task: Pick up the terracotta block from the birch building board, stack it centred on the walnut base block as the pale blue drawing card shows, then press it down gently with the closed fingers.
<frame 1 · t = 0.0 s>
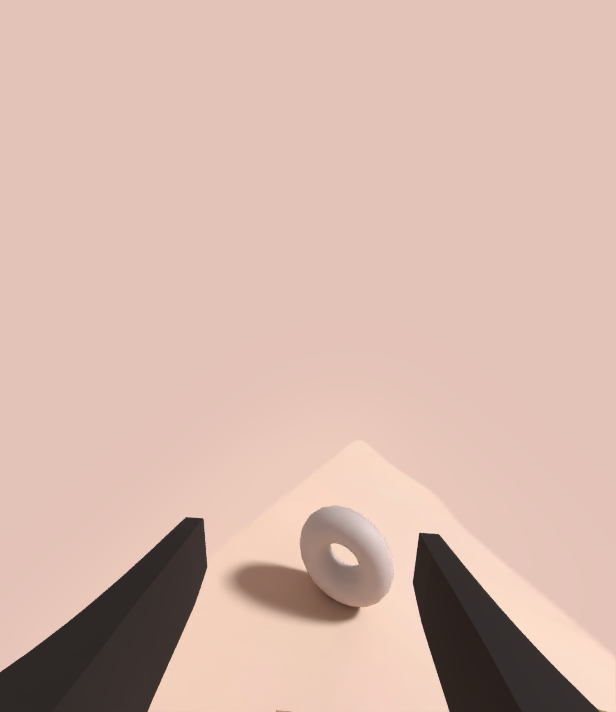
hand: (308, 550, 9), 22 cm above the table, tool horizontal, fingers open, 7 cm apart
donut: (342, 598, 30), on the table
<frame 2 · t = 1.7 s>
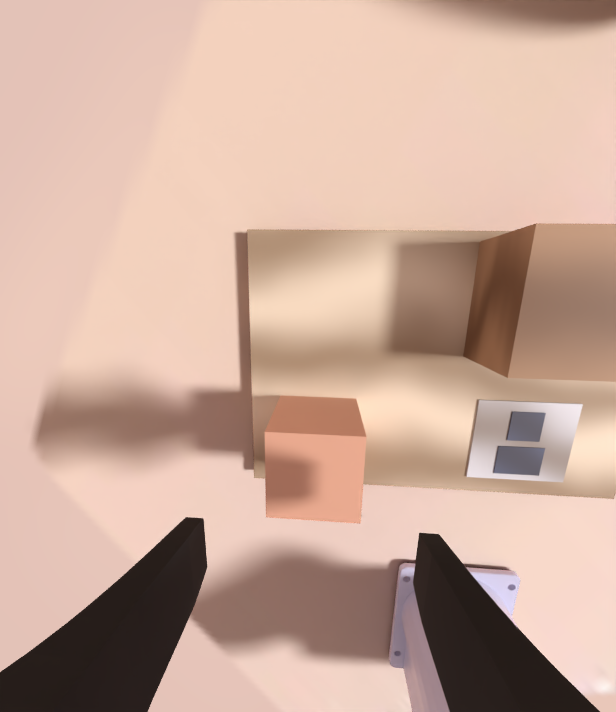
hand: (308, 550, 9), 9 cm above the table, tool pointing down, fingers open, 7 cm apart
base block: (529, 302, 15), point 1 cm above the table, touching build board
build board: (437, 369, 17), on the table
top block: (317, 431, 17), point 1 cm above the table, touching build board
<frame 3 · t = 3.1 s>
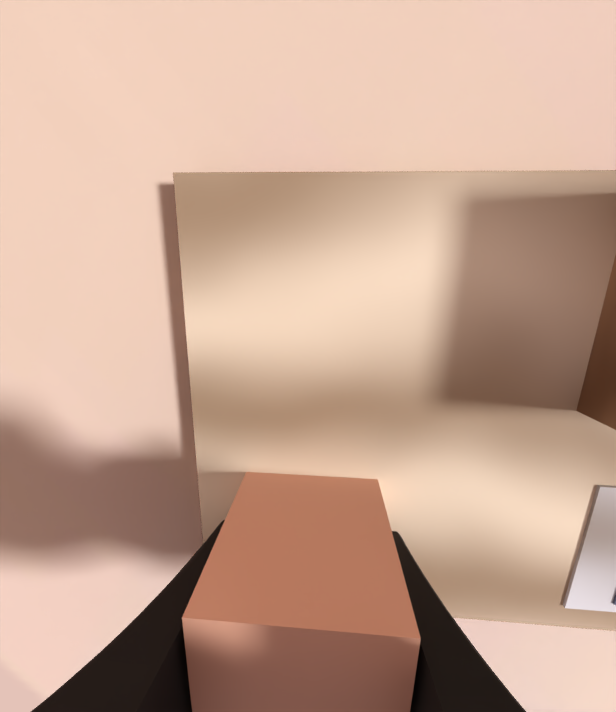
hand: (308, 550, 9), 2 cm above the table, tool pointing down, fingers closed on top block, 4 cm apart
build board: (518, 427, 10), on the table
top block: (309, 530, 10), point 1 cm above the table, touching build board, gripper
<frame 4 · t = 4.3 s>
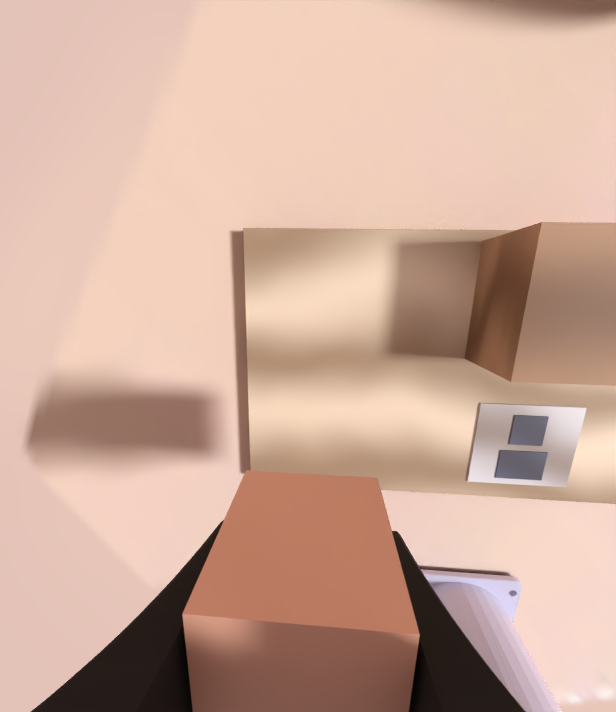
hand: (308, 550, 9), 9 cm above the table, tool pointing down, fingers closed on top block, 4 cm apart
base block: (533, 303, 15), point 1 cm above the table, touching build board
build board: (437, 371, 16), on the table
top block: (309, 528, 10), point 8 cm above the table, touching gripper
when the fingers open (7 cm above the table, at t = 6.0 s): top block stays where it is, resting on base block.
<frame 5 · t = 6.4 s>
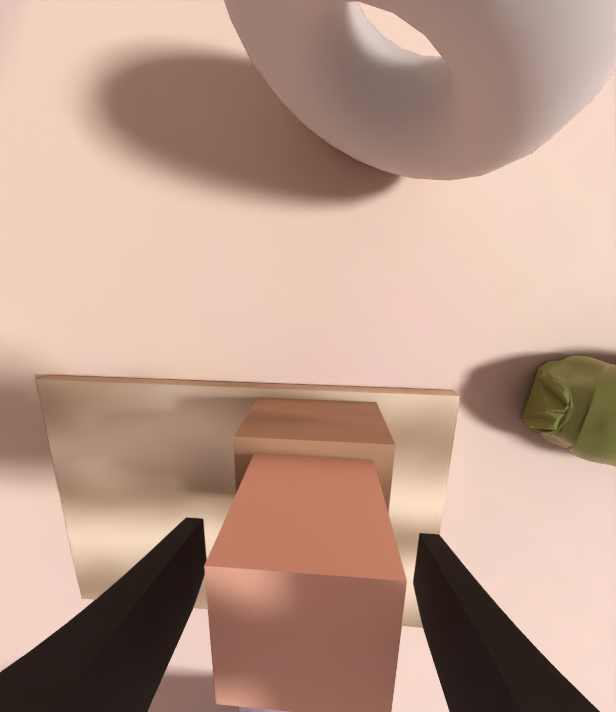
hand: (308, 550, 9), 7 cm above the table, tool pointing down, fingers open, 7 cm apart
base block: (315, 452, 15), point 1 cm above the table, touching build board, top block
build board: (247, 501, 17), on the table
top block: (311, 507, 11), point 5 cm above the table, touching base block
pear: (603, 400, 15), on the table
donut: (369, 137, 13), on the table
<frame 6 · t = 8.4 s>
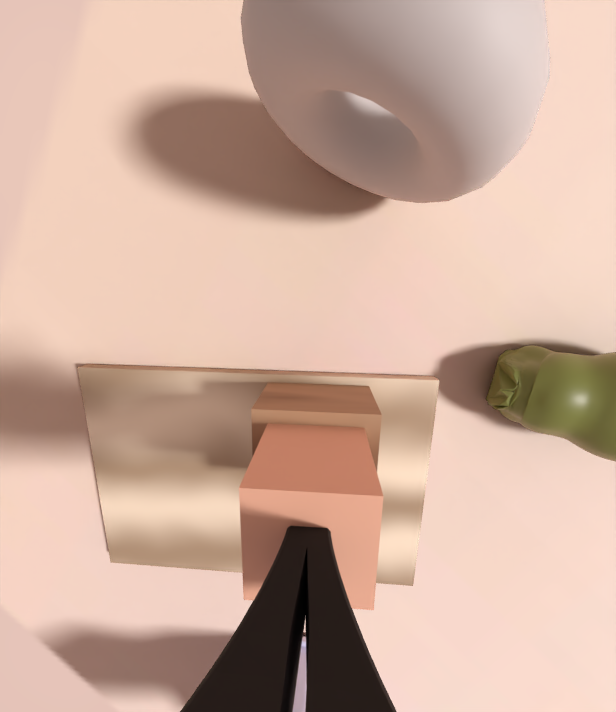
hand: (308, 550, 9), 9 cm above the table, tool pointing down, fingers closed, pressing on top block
base block: (316, 430, 18), point 1 cm above the table, touching build board, top block
build board: (257, 475, 20), on the table
top block: (314, 468, 14), point 5 cm above the table, touching base block, gripper
pear: (556, 384, 17), on the table
donut: (362, 164, 15), on the table
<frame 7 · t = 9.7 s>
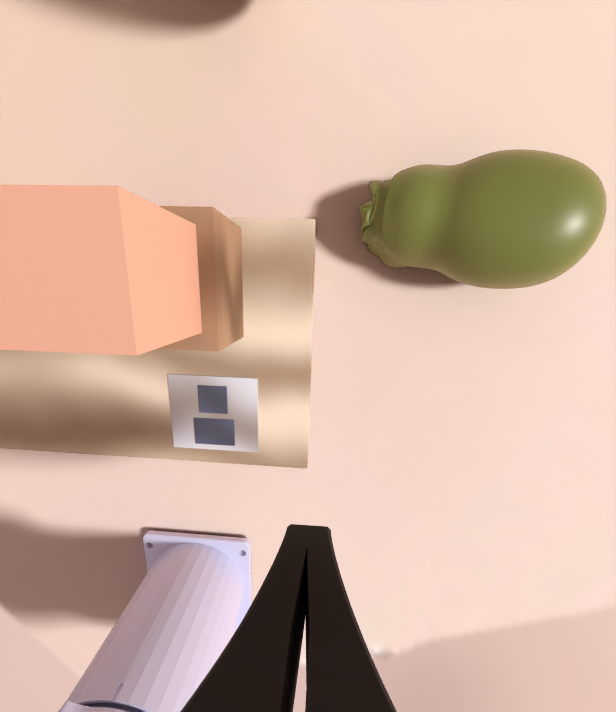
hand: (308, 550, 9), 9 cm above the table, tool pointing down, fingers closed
base block: (190, 283, 16), point 1 cm above the table, touching build board, top block
build board: (139, 346, 18), on the table
top block: (148, 279, 12), point 5 cm above the table, touching base block
pear: (443, 232, 16), on the table
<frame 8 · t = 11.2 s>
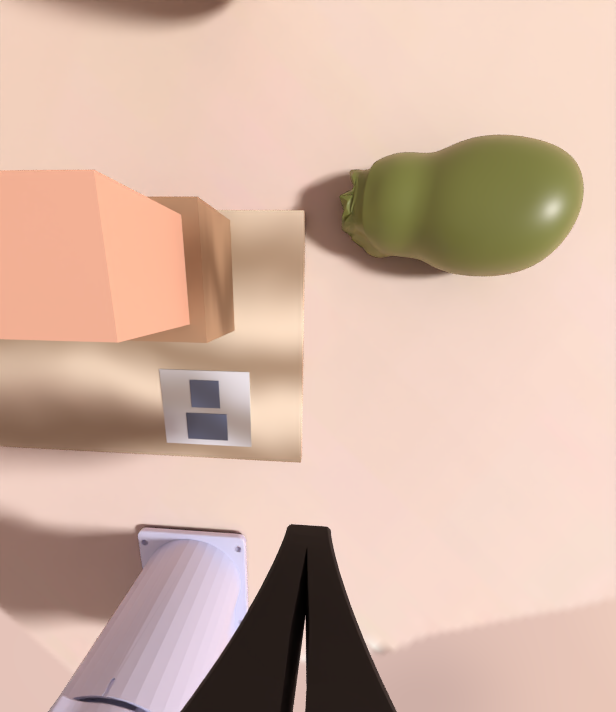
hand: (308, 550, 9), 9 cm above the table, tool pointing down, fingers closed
base block: (180, 276, 16), point 1 cm above the table, touching build board, top block
build board: (131, 341, 18), on the table
top block: (135, 271, 12), point 5 cm above the table, touching base block
pear: (427, 222, 16), on the table
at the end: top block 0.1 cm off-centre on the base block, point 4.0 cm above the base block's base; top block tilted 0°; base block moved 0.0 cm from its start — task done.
